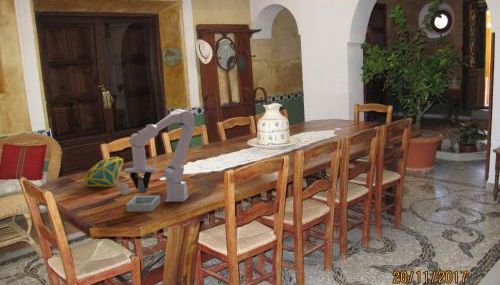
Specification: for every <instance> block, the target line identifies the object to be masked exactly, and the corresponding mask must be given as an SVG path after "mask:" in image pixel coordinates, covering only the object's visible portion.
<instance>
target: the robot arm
mask: <svg viewBox="0 0 500 285" xmlns="http://www.w3.org/2000/svg"><path fill="white" fill-rule="evenodd" d="M175 123H176V124H178V125H179V127H180V128H181V134H180V136H179V139H178V143H177V145H176V147H175V149H174V150H175V151H174V154H173V157H172V159H171V161H170V162H168V163H167V165H166V167H165V169H164V170H163V177H164V178H165V179H166V193H167V198H166V200H164V201H165V203H166V202H169V203H170V202H172V203H173V202H174V203H176V202H178V203H179V202H182V203H183V202H186V200H187V198H189V193H188V184H187V181H183V179H184V171H185V167H184V165H183V164H184V162H185V159H186V155H187V153H188V150H189V147H190V144H191V142H192V141H191V140H192V138H193V135H194V132H195V116H194V114H193V112H192V111H191V110H188V109H187V110H185V109H181V108H178V109H177V108H176V109H175V110H174V111H172V112H171V111H170V113H169V114H168V115H166V116H165V117H163V119H161V120H159V121H158V122H157V123H155V124H152V123H151V124H147V125H146V126H145V128H142V129H141V130H138V131H137V133H135V132H134V133H133V134H131V135H130V137H129V138H128V143H129V144H130V145H131V155H132V164H133V167H129V168H125V169H124V174H125V175H127V174H129V178H130V179H131V180H132V183H133V184H134V186H135V189H136V190H138V186H137V177H139V174H143V175H142V176H144V180H145V188H146V189H147V190H148V189H149V183H150V179H151V177H152V175H153V174H156V173H157V168H156V167H148V166H147V159H146V149H145V146H146V144H147V142H149V141H150V140H152V139H154V138H155V137H156V136H158V135H159V132H160V131H161V130H163V129H165V128H166V127H168V126H170V125H171V124H175Z"/></svg>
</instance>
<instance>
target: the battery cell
mask: <svg viewBox="0 0 500 285" xmlns="http://www.w3.org/2000/svg"><path fill="white" fill-rule="evenodd" d="M137 186H138V189H137V194H145V193H147V192H148V188H147V189H146V188H145V180H144V176H143V175H138V177H137Z"/></svg>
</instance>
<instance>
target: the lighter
mask: <svg viewBox="0 0 500 285" xmlns="http://www.w3.org/2000/svg"><path fill="white" fill-rule="evenodd" d="M115 184H116V185H115V186H116V187H117V189H120V195H121V196H124V195H129V194H130V188H129V187H130V186H129V184H127V183H122V184H121V182H120V181H119V180H117V181H116V182H115Z"/></svg>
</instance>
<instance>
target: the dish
mask: <svg viewBox="0 0 500 285" xmlns="http://www.w3.org/2000/svg"><path fill="white" fill-rule="evenodd" d="M160 204H161V196H160V195H135V196H134V197H133V198H132V199H131V200H130V201H129V202H127V203H126V204H125V205H126V212H128V213H131V212H132V213H134V212H135V213H141V212H142V213H143V212H144V213H149V212H150V213H152V212H154V211H155V210H156V208H158V206H159V205H160Z"/></svg>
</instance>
